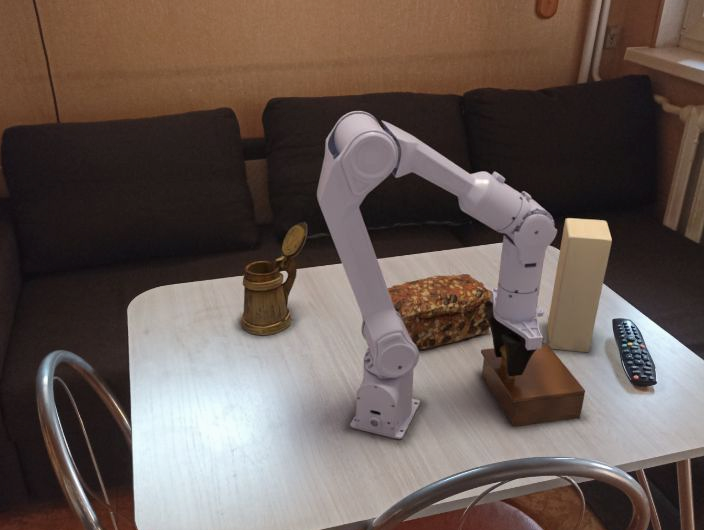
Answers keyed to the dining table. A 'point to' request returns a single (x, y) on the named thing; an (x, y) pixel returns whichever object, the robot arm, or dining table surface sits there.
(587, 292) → the beige tall block
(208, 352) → the dining table surface
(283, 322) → the wooden mug
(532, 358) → the box lid
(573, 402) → the trinket box
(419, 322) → the bread
